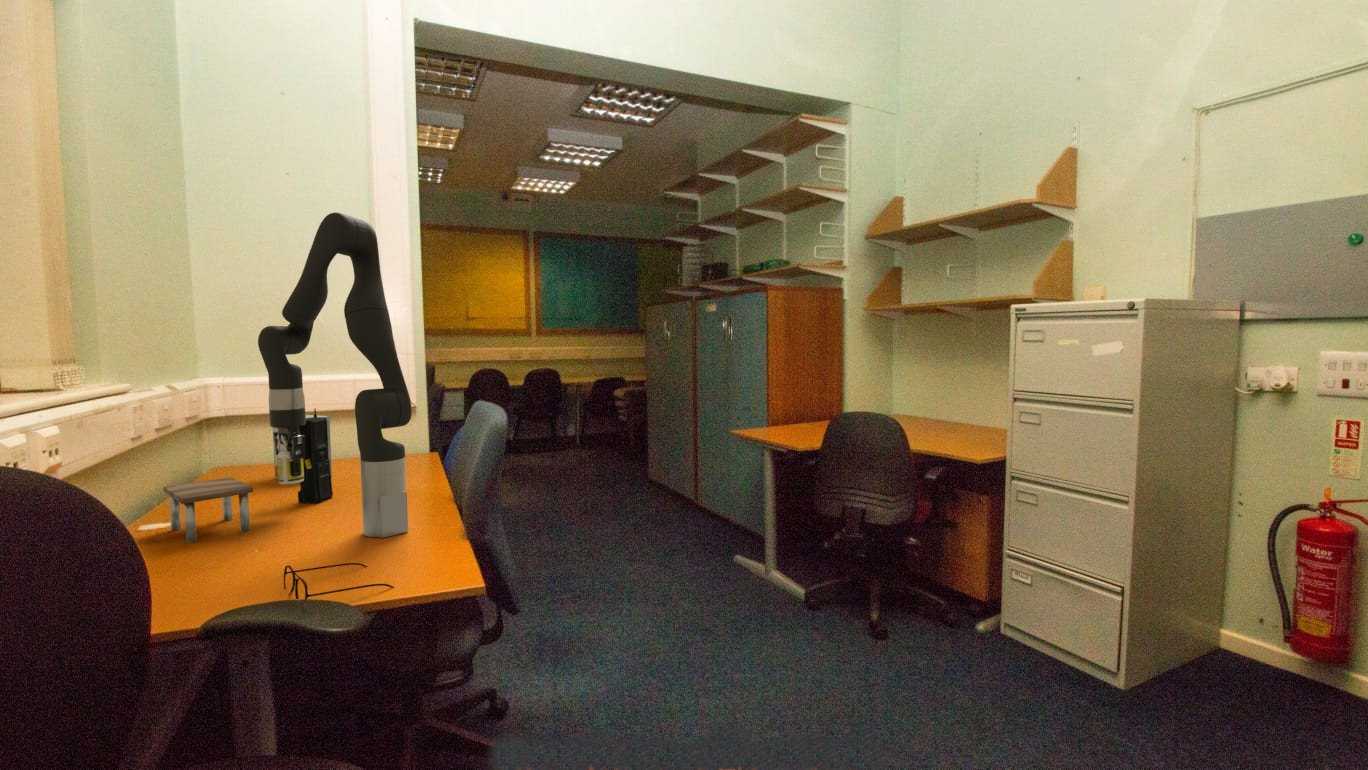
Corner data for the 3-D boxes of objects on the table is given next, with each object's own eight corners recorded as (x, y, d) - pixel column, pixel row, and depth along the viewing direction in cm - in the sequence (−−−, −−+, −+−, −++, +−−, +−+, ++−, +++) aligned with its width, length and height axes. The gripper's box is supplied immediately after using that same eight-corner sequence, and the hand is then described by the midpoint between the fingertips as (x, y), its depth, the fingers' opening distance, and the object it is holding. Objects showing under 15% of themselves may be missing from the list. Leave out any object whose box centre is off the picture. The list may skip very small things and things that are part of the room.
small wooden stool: (255, 530, 143) (252, 487, 142) (184, 544, 133) (181, 498, 132) (233, 517, 153) (231, 476, 152) (166, 529, 143) (163, 486, 142)
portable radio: (317, 504, 164) (313, 412, 162) (295, 504, 164) (290, 411, 162) (334, 497, 172) (330, 408, 170) (313, 496, 172) (309, 408, 170)
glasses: (281, 590, 111) (284, 562, 111) (369, 576, 122) (371, 551, 122) (303, 615, 101) (306, 585, 101) (396, 598, 112) (399, 571, 112)
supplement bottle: (308, 479, 156) (306, 441, 155) (296, 484, 151) (294, 445, 150) (287, 480, 156) (284, 441, 155) (273, 485, 150) (271, 445, 150)
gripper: (315, 407, 150) (319, 475, 152) (293, 404, 159) (296, 468, 161) (280, 410, 145) (285, 481, 146) (259, 406, 153) (263, 473, 155)
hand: (291, 474), depth 153 cm, fingers closed on supplement bottle, 5 cm apart
